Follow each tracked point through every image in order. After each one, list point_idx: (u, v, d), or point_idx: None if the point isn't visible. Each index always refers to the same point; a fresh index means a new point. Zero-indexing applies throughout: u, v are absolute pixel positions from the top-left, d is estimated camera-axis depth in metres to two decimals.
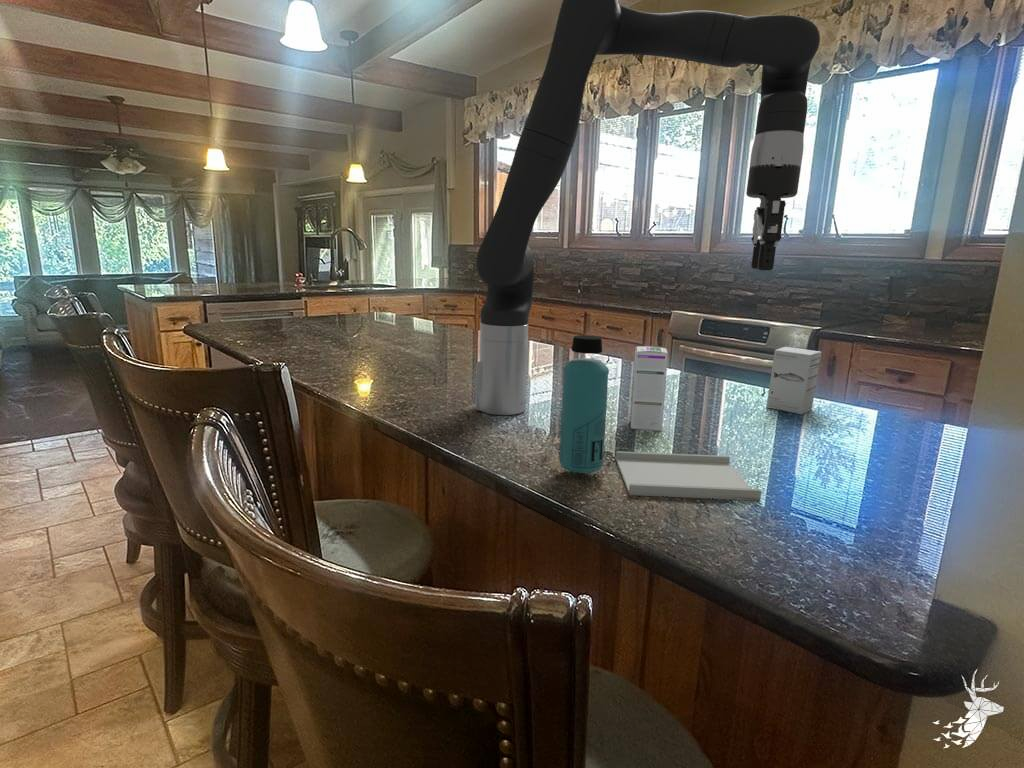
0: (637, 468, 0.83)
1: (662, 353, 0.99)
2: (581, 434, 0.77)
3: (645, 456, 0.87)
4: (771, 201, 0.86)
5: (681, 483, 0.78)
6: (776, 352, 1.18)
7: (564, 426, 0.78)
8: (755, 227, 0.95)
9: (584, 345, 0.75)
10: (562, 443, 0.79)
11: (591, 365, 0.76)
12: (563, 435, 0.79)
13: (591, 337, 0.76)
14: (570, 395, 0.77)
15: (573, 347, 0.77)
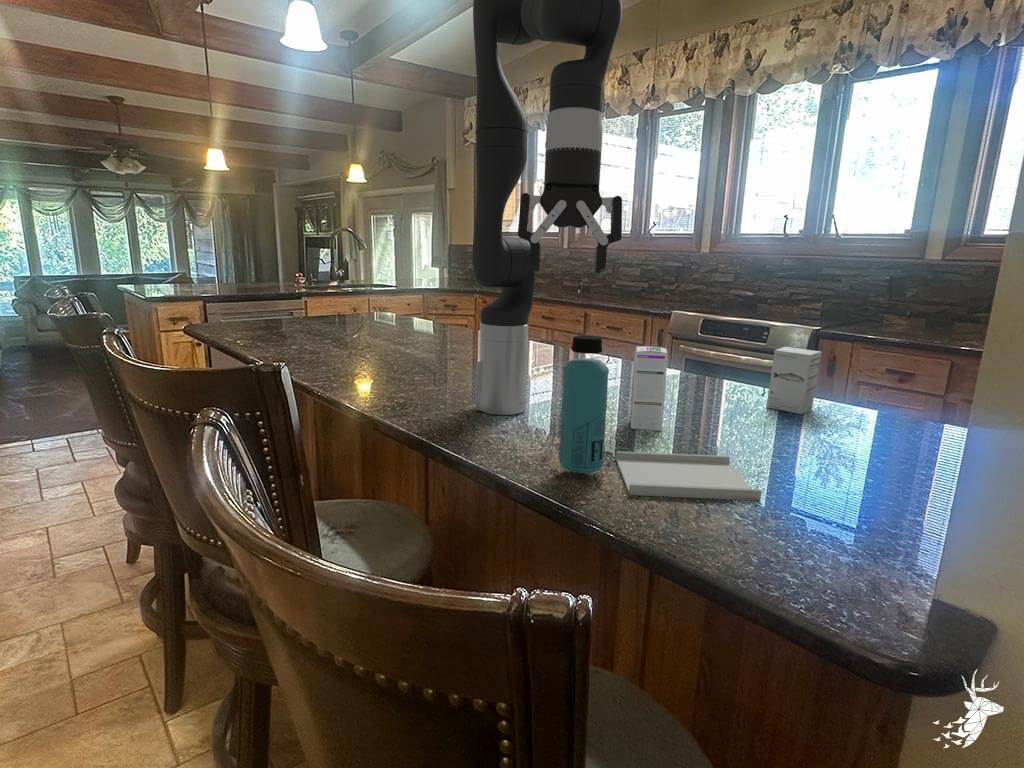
0: (637, 468, 0.83)
1: (662, 353, 0.99)
2: (581, 434, 0.77)
3: (645, 456, 0.87)
4: None
5: (681, 483, 0.78)
6: (776, 352, 1.18)
7: (564, 426, 0.78)
8: (554, 221, 0.78)
9: (584, 345, 0.75)
10: (562, 443, 0.79)
11: (591, 365, 0.76)
12: (563, 435, 0.79)
13: (591, 337, 0.76)
14: (570, 395, 0.77)
15: (573, 347, 0.77)
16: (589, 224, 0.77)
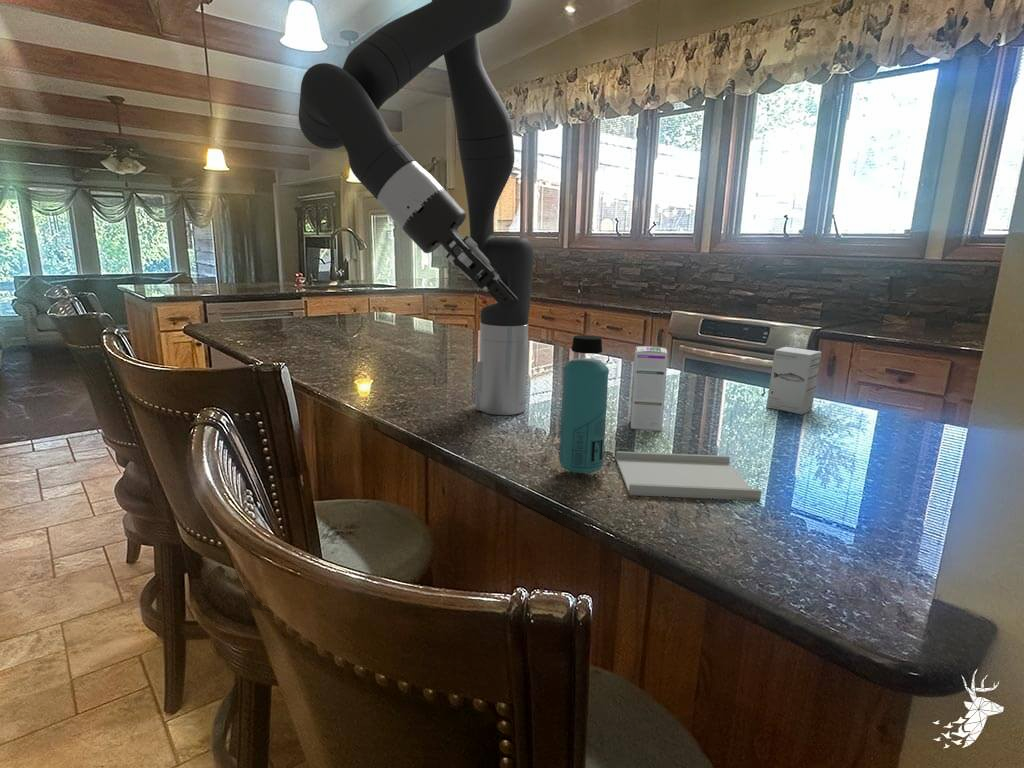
0: (637, 468, 0.83)
1: (662, 353, 0.99)
2: (581, 434, 0.77)
3: (645, 456, 0.87)
4: (458, 261, 0.69)
5: (681, 483, 0.78)
6: (776, 352, 1.18)
7: (564, 426, 0.78)
8: None
9: (584, 345, 0.75)
10: (562, 443, 0.79)
11: (591, 365, 0.76)
12: (563, 435, 0.79)
13: (591, 337, 0.76)
14: (570, 395, 0.77)
15: (573, 347, 0.77)
16: None
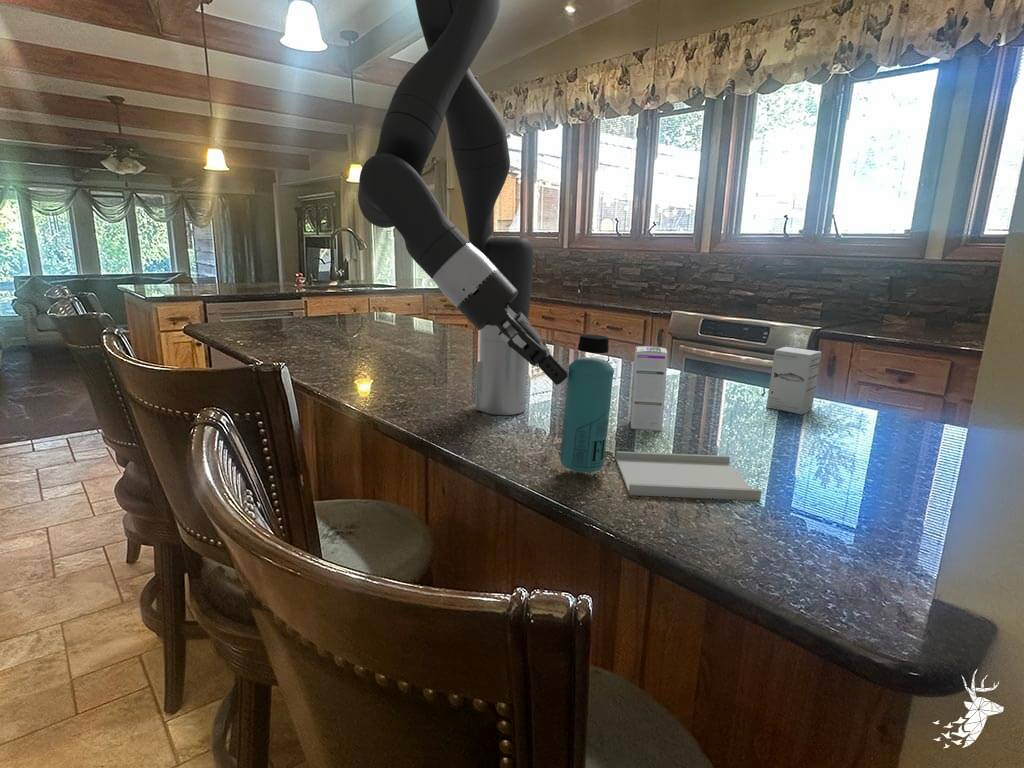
0: (637, 468, 0.83)
1: (662, 353, 0.99)
2: (583, 433, 0.77)
3: (645, 456, 0.87)
4: (513, 343, 0.71)
5: (681, 483, 0.78)
6: (776, 352, 1.18)
7: (567, 425, 0.78)
8: None
9: (591, 344, 0.75)
10: (564, 441, 0.79)
11: (597, 365, 0.75)
12: (565, 433, 0.79)
13: (598, 337, 0.76)
14: (574, 394, 0.77)
15: (579, 346, 0.76)
16: None
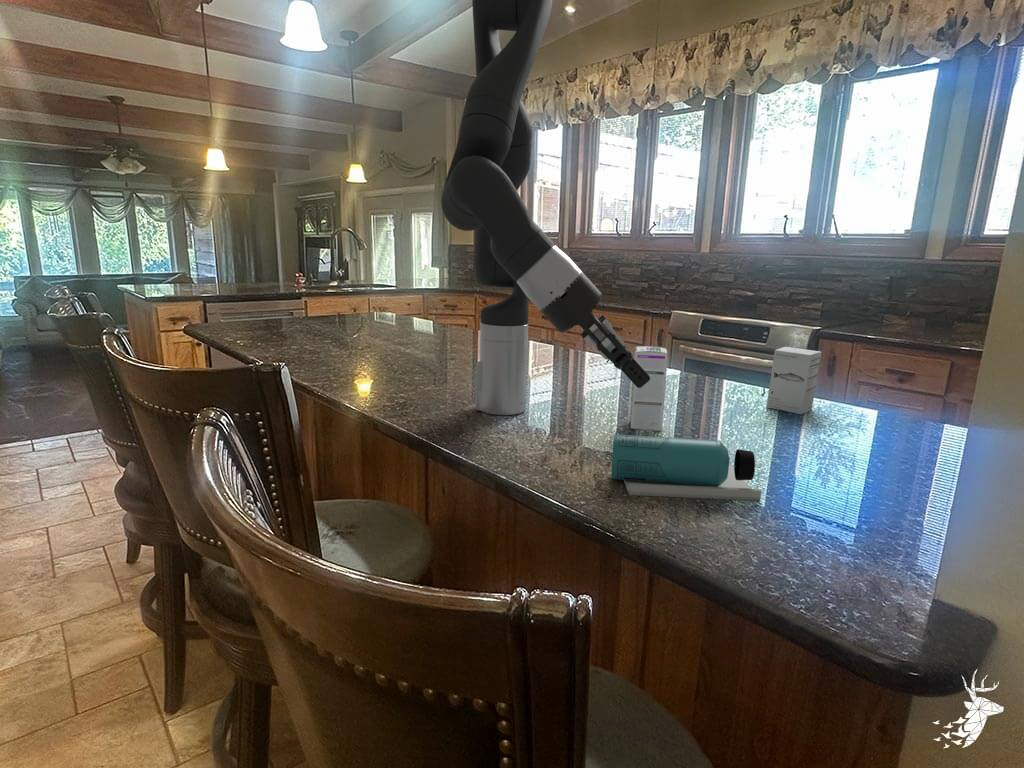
0: None
1: (662, 353, 0.99)
2: (653, 470, 0.76)
3: None
4: (602, 346, 0.71)
5: None
6: (776, 352, 1.18)
7: (658, 450, 0.76)
8: None
9: (747, 471, 0.74)
10: (639, 446, 0.76)
11: (726, 477, 0.75)
12: (648, 448, 0.76)
13: None
14: (694, 458, 0.75)
15: (744, 456, 0.75)
16: None
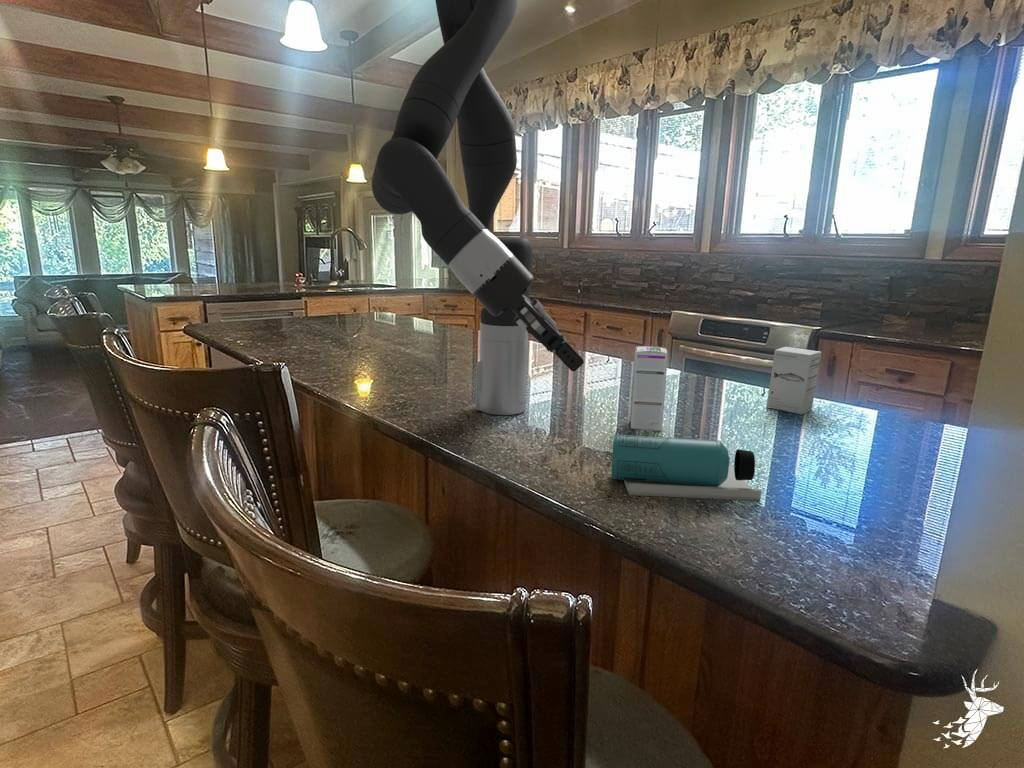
0: None
1: (662, 353, 0.99)
2: (653, 470, 0.76)
3: None
4: (531, 329, 0.71)
5: None
6: (776, 352, 1.18)
7: (658, 450, 0.76)
8: None
9: (747, 471, 0.74)
10: (639, 446, 0.76)
11: (726, 477, 0.75)
12: (648, 448, 0.76)
13: None
14: (694, 458, 0.75)
15: (744, 457, 0.75)
16: None
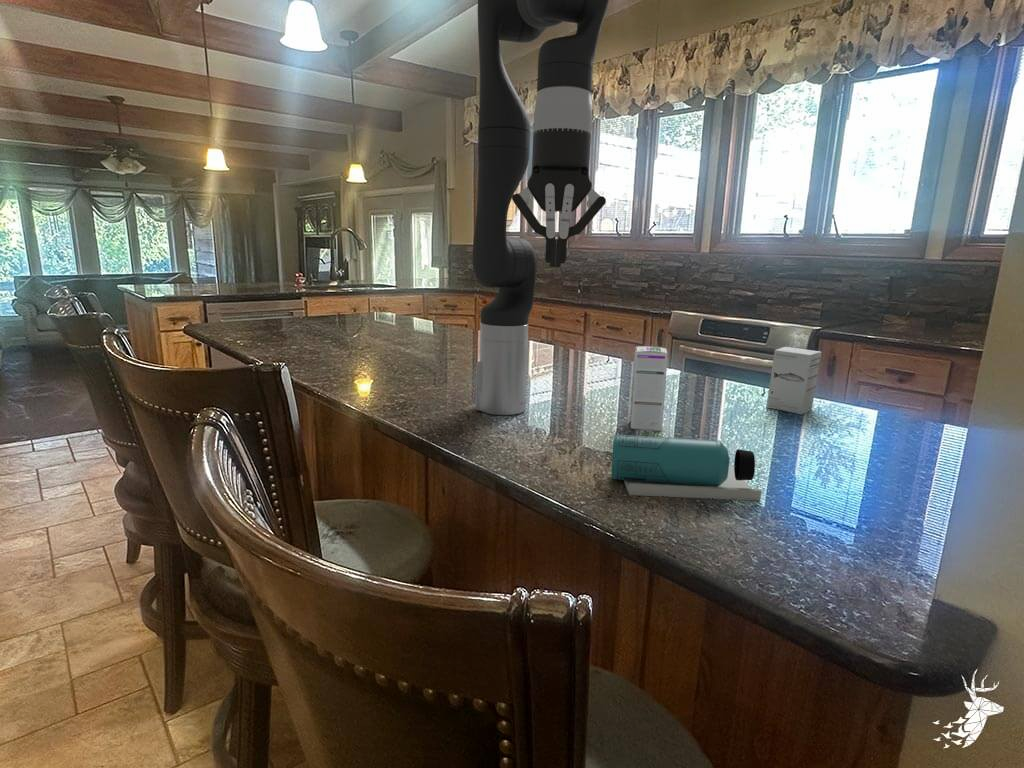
0: None
1: (662, 353, 0.99)
2: (653, 470, 0.76)
3: None
4: None
5: None
6: (776, 352, 1.18)
7: (658, 450, 0.76)
8: (554, 206, 0.75)
9: (747, 471, 0.74)
10: (639, 446, 0.76)
11: (726, 477, 0.75)
12: (648, 448, 0.76)
13: None
14: (694, 458, 0.75)
15: (744, 457, 0.75)
16: (563, 210, 0.75)
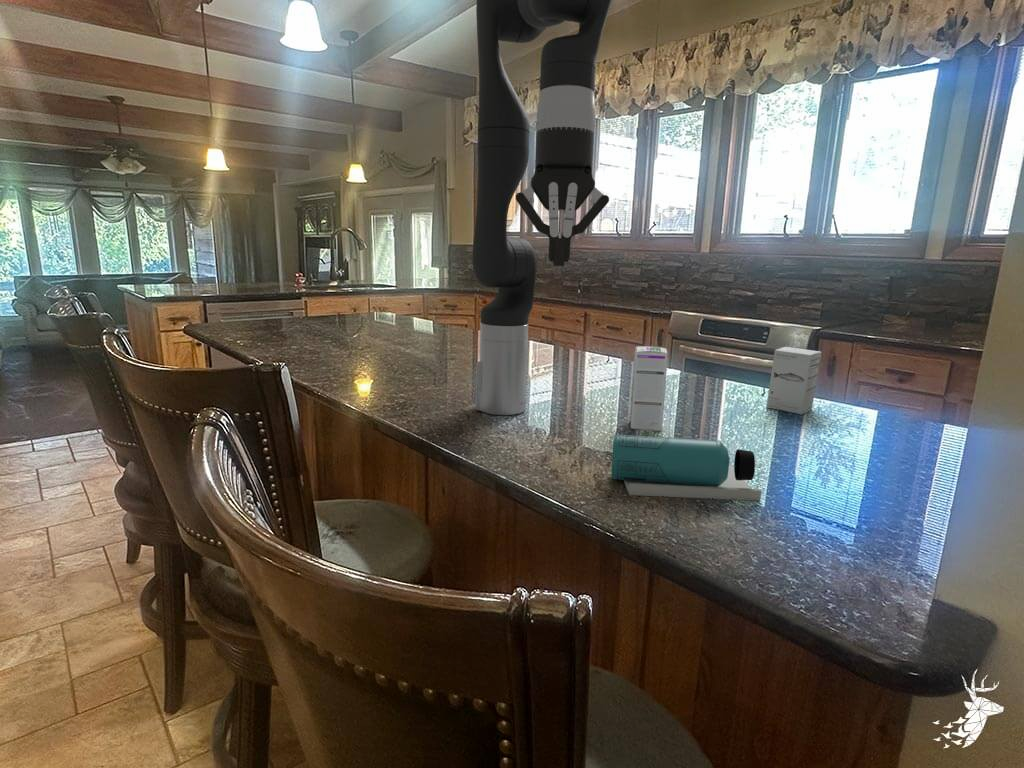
0: None
1: (662, 353, 0.99)
2: (653, 470, 0.76)
3: None
4: None
5: None
6: (776, 352, 1.18)
7: (658, 450, 0.76)
8: (558, 205, 0.75)
9: (747, 471, 0.74)
10: (639, 446, 0.76)
11: (726, 477, 0.75)
12: (648, 448, 0.76)
13: None
14: (694, 458, 0.75)
15: (744, 457, 0.75)
16: (566, 209, 0.75)
